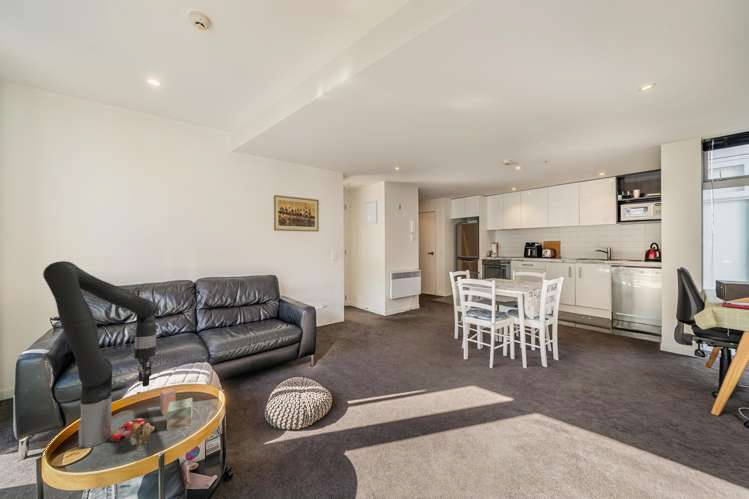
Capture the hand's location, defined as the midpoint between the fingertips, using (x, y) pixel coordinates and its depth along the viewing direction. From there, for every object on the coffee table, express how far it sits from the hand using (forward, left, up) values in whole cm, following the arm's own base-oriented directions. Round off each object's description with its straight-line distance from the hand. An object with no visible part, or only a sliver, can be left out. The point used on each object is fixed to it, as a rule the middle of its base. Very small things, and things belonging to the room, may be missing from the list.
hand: (143, 383), depth 129 cm
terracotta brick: (+8, +11, -20) cm, 24 cm away
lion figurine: (+1, -11, -20) cm, 23 cm away
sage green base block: (+14, -2, -20) cm, 24 cm away
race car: (-5, -1, -20) cm, 21 cm away
